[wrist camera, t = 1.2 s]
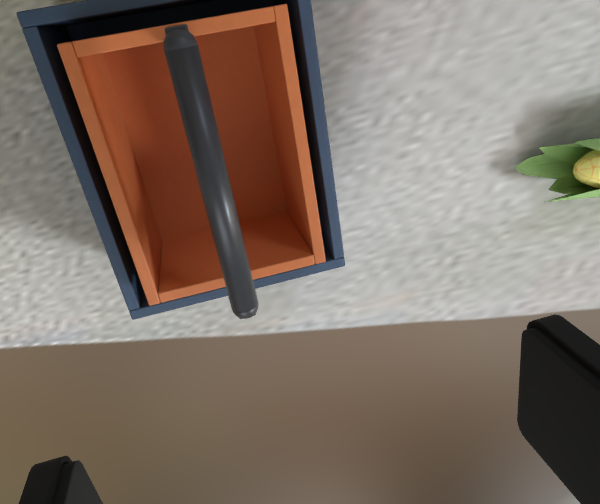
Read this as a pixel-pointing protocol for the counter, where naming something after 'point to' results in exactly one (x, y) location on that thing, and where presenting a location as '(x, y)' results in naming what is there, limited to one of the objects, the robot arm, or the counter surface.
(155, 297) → the upper bin
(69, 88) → the lower bin
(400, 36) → the counter surface
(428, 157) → the counter surface
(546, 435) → the robot arm
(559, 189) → the edible corn
